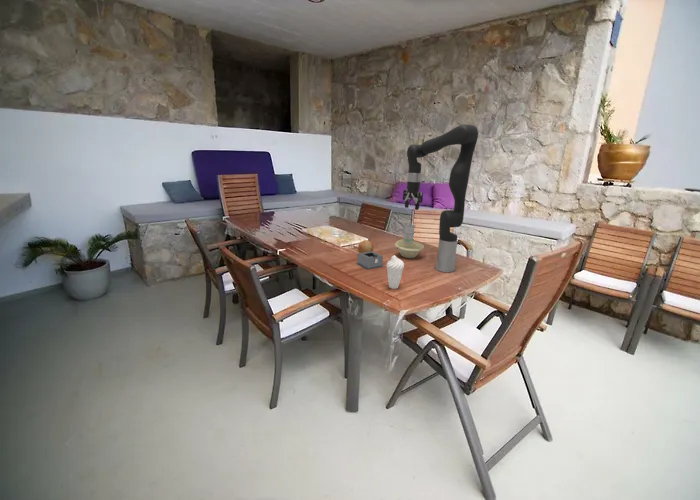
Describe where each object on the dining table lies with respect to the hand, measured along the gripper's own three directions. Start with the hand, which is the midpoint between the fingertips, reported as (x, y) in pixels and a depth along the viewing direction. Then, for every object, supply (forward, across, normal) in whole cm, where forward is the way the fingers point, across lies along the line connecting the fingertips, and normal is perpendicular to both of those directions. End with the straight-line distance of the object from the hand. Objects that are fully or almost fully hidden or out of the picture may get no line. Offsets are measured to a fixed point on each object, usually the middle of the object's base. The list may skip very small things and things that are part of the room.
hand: (411, 208), depth 189 cm
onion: (+30, +14, +22) cm, 40 cm away
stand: (+30, -3, +31) cm, 43 cm away
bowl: (+30, 0, -1) cm, 30 cm away
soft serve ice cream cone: (+30, -32, +38) cm, 58 cm away
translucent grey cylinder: (+22, 0, 0) cm, 22 cm away
